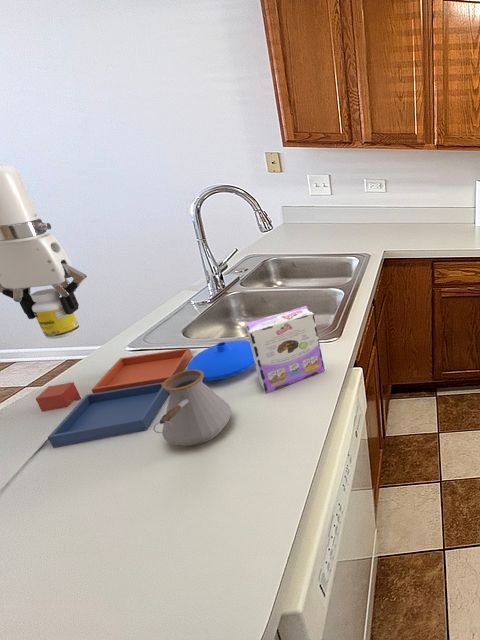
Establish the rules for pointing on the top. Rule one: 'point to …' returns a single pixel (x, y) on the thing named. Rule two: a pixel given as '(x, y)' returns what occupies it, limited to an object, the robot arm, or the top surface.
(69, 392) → the rust block
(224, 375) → the blue pot lid
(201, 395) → the coffee pot
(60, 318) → the supplement bottle
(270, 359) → the candy box
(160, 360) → the rust tray
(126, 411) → the blue tray
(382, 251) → the top surface
